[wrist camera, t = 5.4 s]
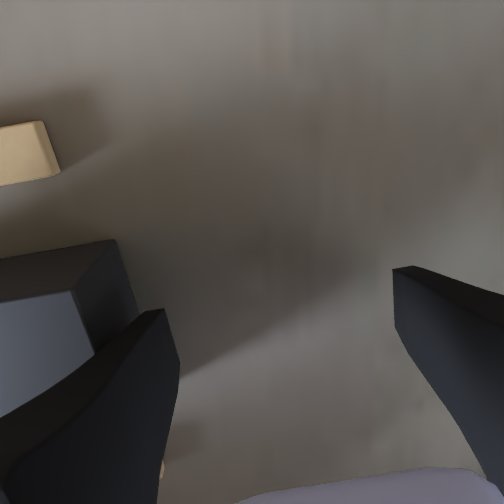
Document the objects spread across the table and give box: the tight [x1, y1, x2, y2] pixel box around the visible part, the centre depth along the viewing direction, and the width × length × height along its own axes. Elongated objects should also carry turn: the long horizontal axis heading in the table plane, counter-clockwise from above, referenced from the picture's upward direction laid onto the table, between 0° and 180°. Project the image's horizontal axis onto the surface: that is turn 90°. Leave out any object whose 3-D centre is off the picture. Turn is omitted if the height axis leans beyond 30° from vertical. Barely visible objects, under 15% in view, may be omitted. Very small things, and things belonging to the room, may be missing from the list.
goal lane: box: [0, 120, 165, 479], centre depth 13 cm, size 6×14×1 cm, turn 10°
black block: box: [0, 239, 139, 417], centre depth 12 cm, size 7×6×4 cm
